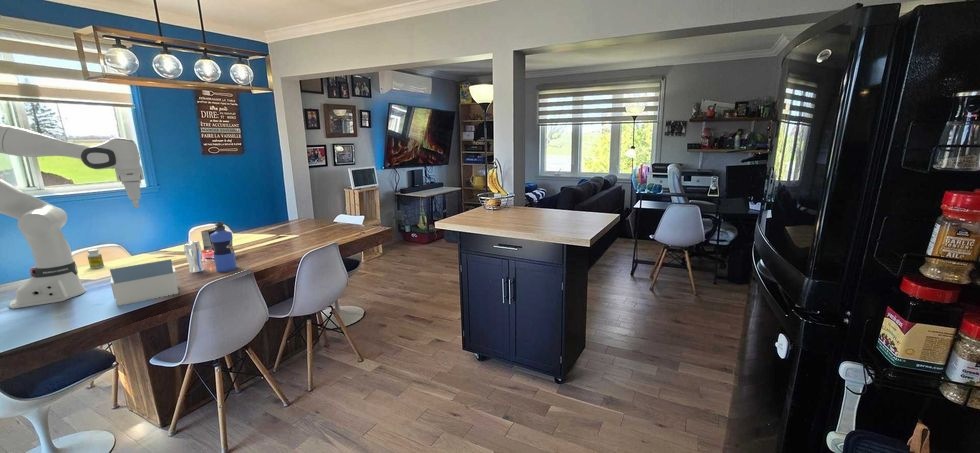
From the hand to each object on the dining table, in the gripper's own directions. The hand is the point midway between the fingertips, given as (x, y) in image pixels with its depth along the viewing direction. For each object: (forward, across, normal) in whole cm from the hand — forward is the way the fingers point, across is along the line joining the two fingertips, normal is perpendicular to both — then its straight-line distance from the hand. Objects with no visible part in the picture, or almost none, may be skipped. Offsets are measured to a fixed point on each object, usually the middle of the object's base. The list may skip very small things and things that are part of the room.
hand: (136, 207), depth 178 cm
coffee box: (+37, -39, +30) cm, 62 cm away
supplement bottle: (+37, -62, -21) cm, 75 cm away
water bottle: (+37, -7, +30) cm, 48 cm away
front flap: (+24, +21, -2) cm, 31 cm away
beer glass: (+37, -15, +18) cm, 44 cm away
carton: (+37, +11, -2) cm, 39 cm away
